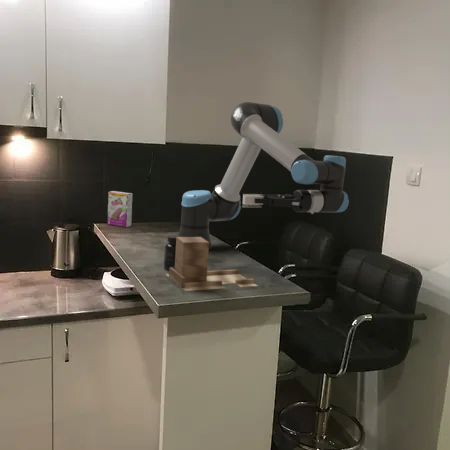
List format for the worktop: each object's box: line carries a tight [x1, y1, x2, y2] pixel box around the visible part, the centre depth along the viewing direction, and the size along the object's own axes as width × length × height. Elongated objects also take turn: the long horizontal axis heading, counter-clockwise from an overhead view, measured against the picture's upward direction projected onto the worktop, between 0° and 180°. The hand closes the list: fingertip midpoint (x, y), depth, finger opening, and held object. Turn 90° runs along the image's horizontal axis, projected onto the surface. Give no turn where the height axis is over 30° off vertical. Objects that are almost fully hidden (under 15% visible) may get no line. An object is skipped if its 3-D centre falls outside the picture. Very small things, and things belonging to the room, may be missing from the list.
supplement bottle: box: [163, 234, 181, 271], centre depth 167 cm, size 7×7×12 cm
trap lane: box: [165, 267, 259, 294], centre depth 157 cm, size 24×18×4 cm
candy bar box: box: [106, 190, 134, 228], centre depth 242 cm, size 11×5×16 cm, turn 69°
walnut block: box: [175, 237, 209, 283], centre depth 154 cm, size 8×8×13 cm
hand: (244, 199), depth 157 cm, fingers closed
